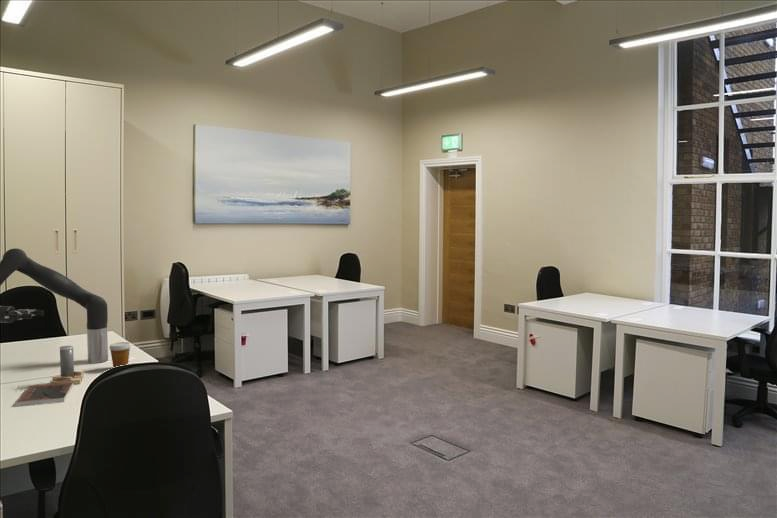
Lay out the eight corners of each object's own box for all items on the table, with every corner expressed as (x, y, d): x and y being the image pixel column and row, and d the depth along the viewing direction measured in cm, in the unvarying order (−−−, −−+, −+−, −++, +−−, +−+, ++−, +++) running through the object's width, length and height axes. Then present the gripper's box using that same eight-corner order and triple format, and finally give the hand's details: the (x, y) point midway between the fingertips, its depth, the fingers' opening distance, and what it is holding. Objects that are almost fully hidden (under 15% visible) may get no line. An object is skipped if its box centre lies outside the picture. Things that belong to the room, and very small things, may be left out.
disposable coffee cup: (107, 371, 266) (107, 346, 265) (112, 366, 275) (111, 342, 274) (129, 370, 268) (128, 345, 267) (132, 365, 277) (132, 341, 276)
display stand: (56, 379, 252) (56, 371, 252) (83, 377, 256) (83, 369, 256) (51, 387, 241) (50, 379, 241) (79, 384, 245) (79, 376, 245)
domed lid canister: (61, 376, 250) (60, 346, 249) (75, 375, 252) (74, 345, 251) (59, 379, 245) (58, 348, 244) (73, 378, 247) (72, 347, 246)
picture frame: (64, 403, 223) (73, 387, 243) (64, 397, 223) (73, 381, 243) (16, 407, 217) (29, 391, 237) (16, 401, 217) (29, 385, 237)
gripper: (-11, 308, 241) (27, 309, 241) (11, 303, 255) (46, 303, 255) (-10, 325, 242) (28, 326, 242) (12, 319, 256) (47, 319, 256)
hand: (37, 314), depth 249 cm, fingers open, 8 cm apart
